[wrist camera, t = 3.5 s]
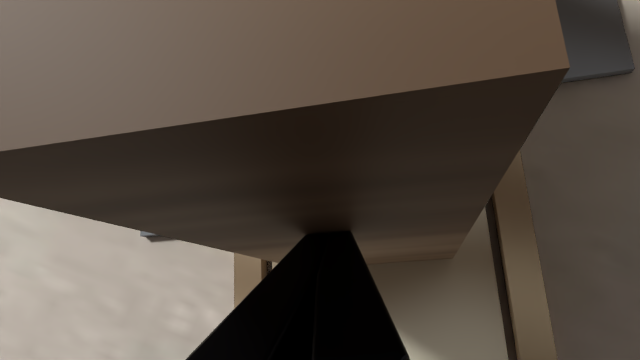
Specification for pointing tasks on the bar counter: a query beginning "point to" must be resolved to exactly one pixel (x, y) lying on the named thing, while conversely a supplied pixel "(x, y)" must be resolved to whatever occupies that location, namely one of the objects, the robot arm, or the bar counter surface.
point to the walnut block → (274, 115)
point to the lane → (486, 240)
